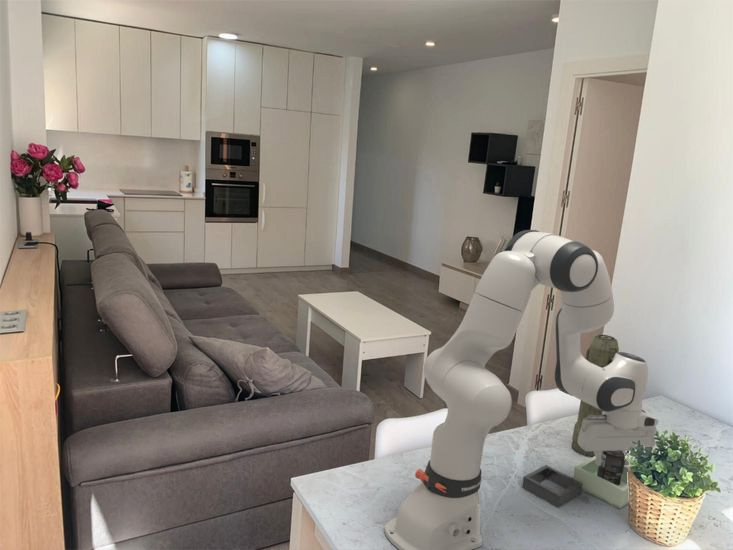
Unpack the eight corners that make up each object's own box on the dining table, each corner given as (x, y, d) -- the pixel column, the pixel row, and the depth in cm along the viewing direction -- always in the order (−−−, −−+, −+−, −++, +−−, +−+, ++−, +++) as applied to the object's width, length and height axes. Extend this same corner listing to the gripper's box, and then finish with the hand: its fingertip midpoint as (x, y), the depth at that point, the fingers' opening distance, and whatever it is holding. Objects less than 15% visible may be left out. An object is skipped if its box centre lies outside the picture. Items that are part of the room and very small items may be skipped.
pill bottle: (624, 482, 150) (632, 442, 148) (614, 489, 146) (622, 448, 144) (602, 472, 154) (609, 433, 152) (592, 478, 150) (599, 439, 148)
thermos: (591, 462, 163) (611, 345, 156) (561, 442, 174) (579, 331, 166) (613, 457, 167) (634, 342, 160) (583, 438, 177) (601, 330, 170)
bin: (620, 509, 141) (623, 490, 140) (572, 484, 151) (574, 467, 150) (643, 492, 150) (647, 475, 149) (596, 469, 159) (599, 453, 158)
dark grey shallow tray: (558, 507, 140) (560, 496, 139) (522, 487, 147) (523, 476, 147) (580, 493, 147) (582, 483, 146) (544, 475, 154) (546, 464, 154)
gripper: (590, 420, 141) (582, 472, 144) (664, 420, 145) (654, 469, 148) (577, 409, 147) (569, 458, 150) (648, 409, 151) (638, 457, 154)
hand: (612, 464), depth 149 cm, fingers closed on pill bottle, 6 cm apart
